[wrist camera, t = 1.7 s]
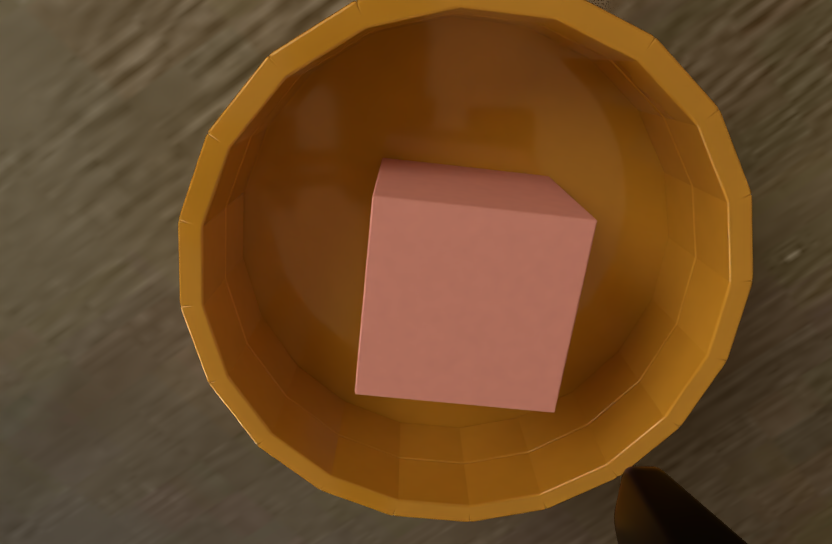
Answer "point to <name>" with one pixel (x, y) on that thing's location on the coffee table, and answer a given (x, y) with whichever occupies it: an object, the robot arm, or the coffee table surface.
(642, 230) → the bowl
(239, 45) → the coffee table surface
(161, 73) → the coffee table surface
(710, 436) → the coffee table surface
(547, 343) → the pink cube
